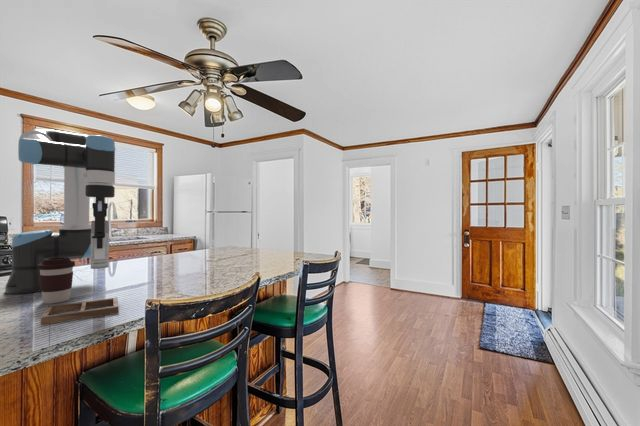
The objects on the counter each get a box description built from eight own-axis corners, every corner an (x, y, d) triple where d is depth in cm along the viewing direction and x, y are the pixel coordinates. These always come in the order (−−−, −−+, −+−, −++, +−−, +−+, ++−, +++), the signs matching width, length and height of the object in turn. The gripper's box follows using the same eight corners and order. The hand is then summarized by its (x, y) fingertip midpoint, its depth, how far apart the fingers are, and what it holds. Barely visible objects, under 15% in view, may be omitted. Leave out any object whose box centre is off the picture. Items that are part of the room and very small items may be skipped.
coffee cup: (52, 306, 100) (52, 261, 99) (29, 304, 102) (29, 260, 101) (81, 298, 109) (82, 256, 109) (60, 296, 111) (60, 255, 111)
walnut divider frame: (47, 312, 94) (48, 306, 94) (117, 303, 104) (117, 297, 104) (40, 324, 84) (40, 317, 84) (118, 313, 94) (118, 306, 94)
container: (93, 266, 98) (94, 220, 97) (110, 265, 99) (111, 220, 99) (88, 269, 93) (88, 221, 93) (106, 268, 95) (106, 221, 95)
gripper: (87, 185, 101) (86, 254, 101) (83, 182, 87) (83, 262, 87) (114, 187, 105) (113, 253, 106) (115, 183, 91) (114, 260, 91)
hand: (99, 257), depth 96 cm, fingers closed on container, 5 cm apart
